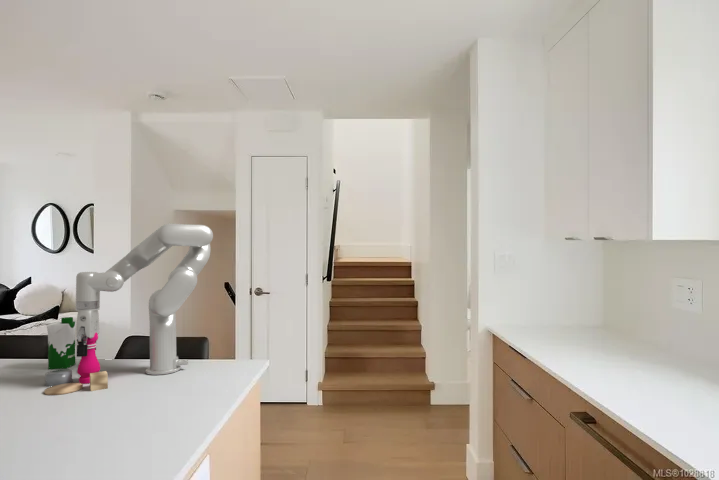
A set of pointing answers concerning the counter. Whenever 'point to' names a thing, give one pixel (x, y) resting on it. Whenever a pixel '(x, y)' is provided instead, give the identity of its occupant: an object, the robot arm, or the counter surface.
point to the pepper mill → (88, 361)
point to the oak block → (98, 381)
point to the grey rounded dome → (58, 377)
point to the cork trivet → (63, 389)
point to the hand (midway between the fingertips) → (86, 353)
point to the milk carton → (61, 344)
